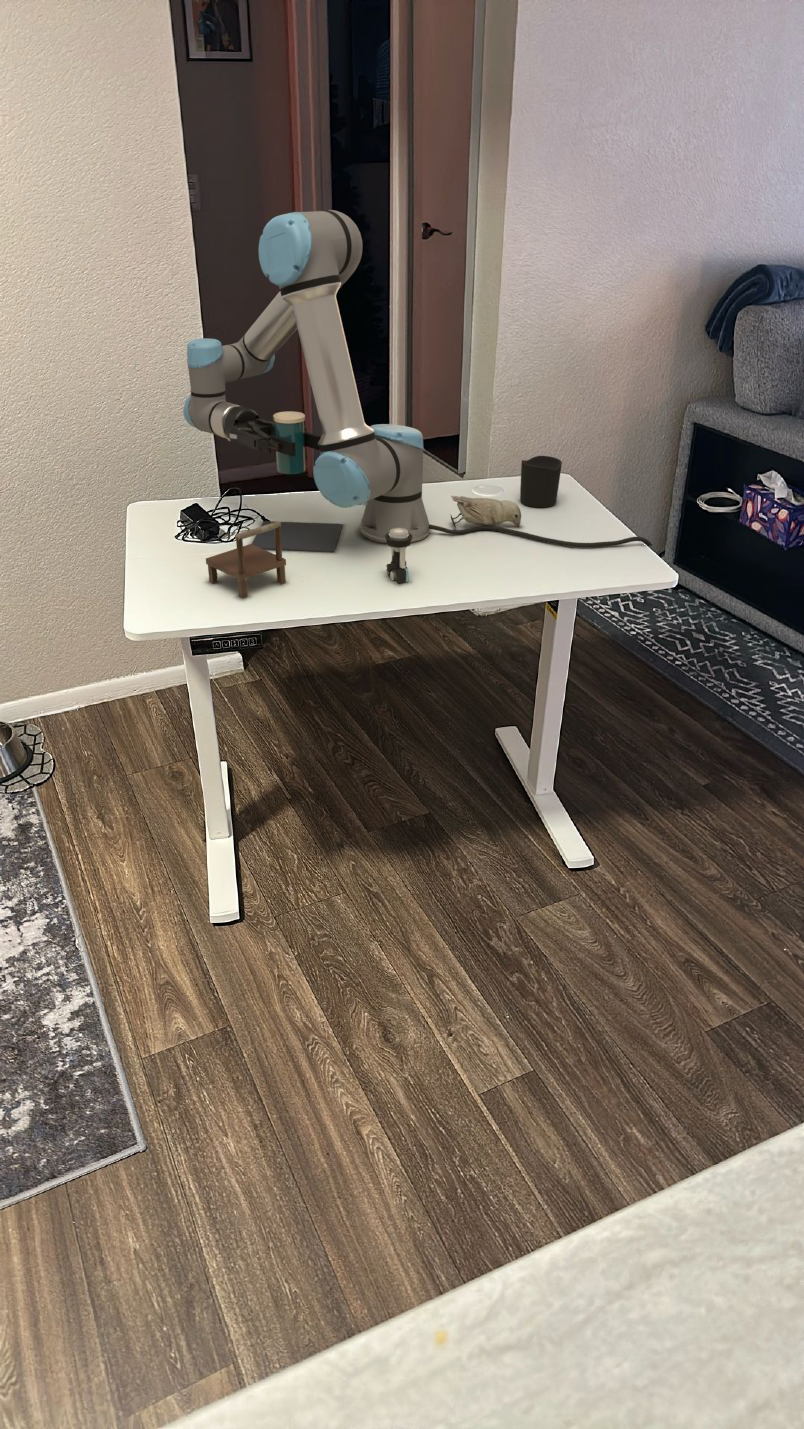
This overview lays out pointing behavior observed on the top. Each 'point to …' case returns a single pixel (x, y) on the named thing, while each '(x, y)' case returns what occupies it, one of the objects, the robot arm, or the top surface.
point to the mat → (301, 537)
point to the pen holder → (540, 481)
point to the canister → (292, 430)
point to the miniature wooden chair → (249, 559)
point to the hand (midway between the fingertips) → (306, 446)
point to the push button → (398, 553)
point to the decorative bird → (487, 511)
